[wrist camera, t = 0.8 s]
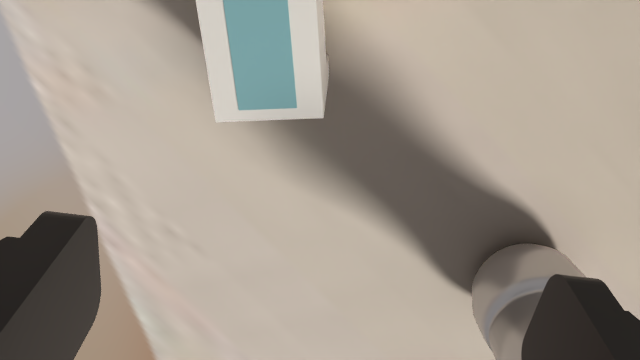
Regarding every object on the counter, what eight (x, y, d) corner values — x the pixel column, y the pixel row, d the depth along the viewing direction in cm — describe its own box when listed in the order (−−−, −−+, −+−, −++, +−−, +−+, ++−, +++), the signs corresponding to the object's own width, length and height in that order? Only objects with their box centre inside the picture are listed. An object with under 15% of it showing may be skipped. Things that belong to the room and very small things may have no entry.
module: (321, -55, 25) (313, -39, 19) (329, 73, 28) (323, 118, 22) (224, -49, 25) (189, -31, 20) (241, 77, 28) (215, 122, 23)
